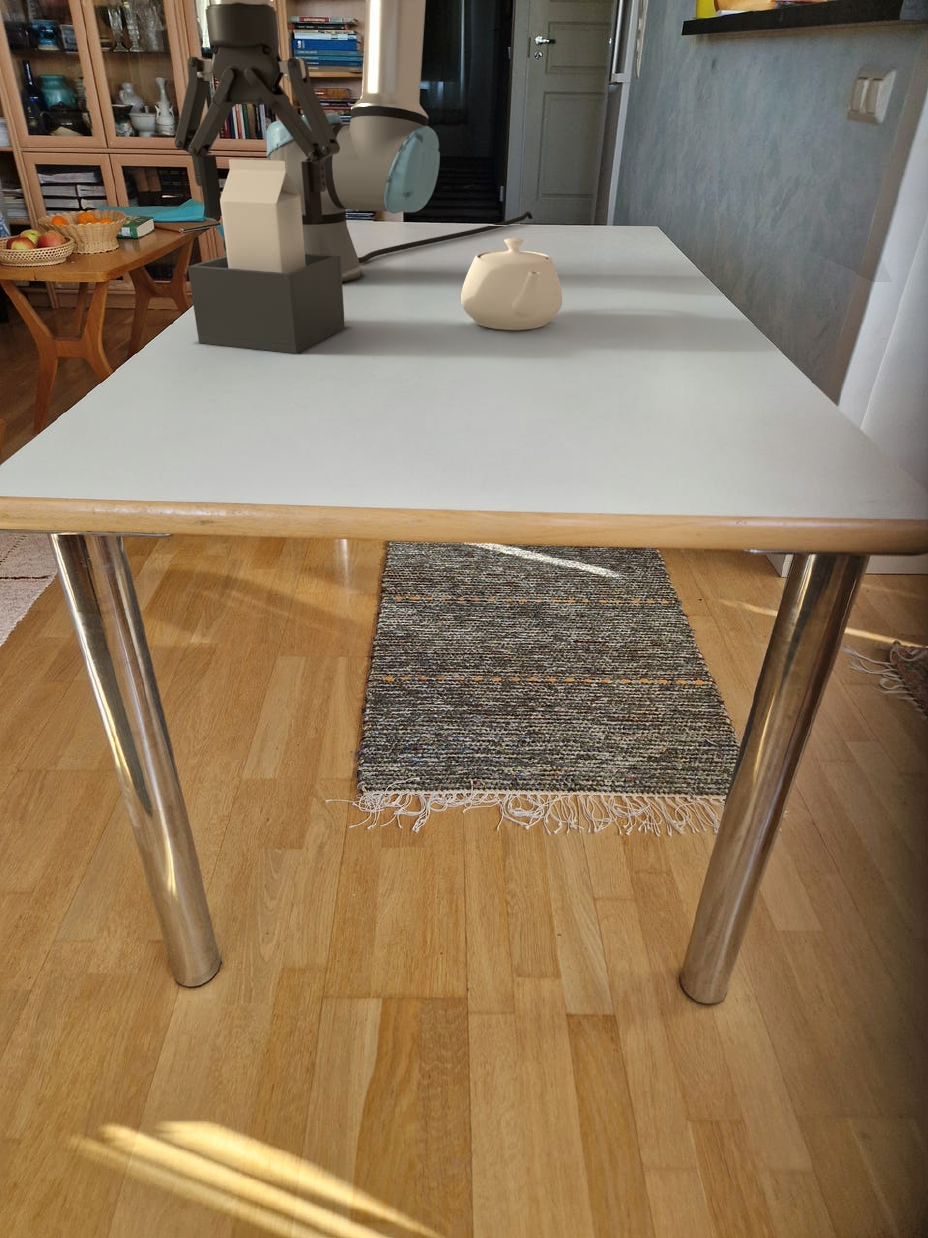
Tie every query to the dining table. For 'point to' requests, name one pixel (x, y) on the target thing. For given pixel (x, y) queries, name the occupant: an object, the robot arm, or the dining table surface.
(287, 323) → the waste bin
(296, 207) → the milk carton
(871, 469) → the dining table surface
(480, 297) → the teapot
